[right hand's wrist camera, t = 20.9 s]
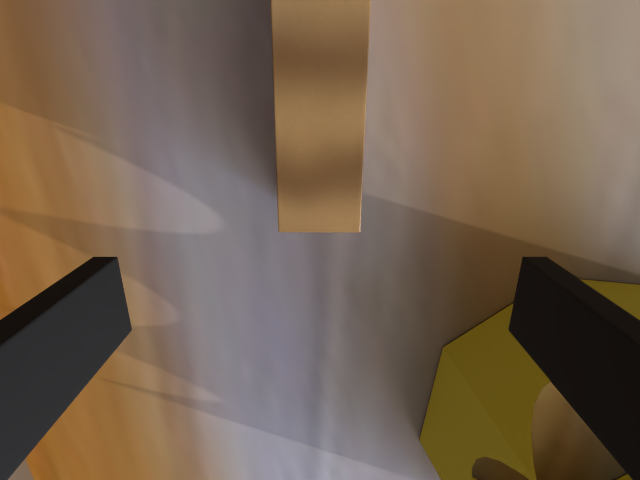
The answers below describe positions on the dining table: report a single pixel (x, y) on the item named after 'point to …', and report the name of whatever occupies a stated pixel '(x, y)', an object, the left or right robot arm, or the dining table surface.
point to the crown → (492, 395)
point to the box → (320, 112)
